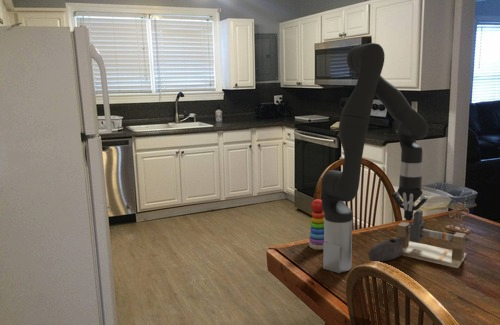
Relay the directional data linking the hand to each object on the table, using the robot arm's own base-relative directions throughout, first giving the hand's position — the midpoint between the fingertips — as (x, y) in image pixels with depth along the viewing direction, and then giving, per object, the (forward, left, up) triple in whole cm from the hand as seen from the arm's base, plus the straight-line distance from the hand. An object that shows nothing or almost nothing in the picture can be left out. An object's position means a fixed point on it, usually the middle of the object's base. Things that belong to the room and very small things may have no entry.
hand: (408, 219), depth 156 cm
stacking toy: (-16, +28, -12) cm, 35 cm away
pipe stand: (0, -8, -12) cm, 14 cm away
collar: (0, -3, -7) cm, 8 cm away
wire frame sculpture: (+32, -10, -12) cm, 35 cm away
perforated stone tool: (-13, +3, -12) cm, 18 cm away
